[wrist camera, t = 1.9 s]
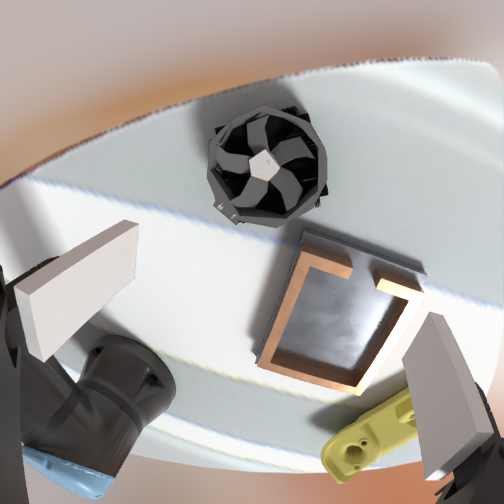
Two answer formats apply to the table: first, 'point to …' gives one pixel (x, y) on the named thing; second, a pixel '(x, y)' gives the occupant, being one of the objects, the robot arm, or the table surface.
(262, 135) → the cpu cooler
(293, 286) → the board
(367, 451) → the plastic component
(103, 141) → the table surface
